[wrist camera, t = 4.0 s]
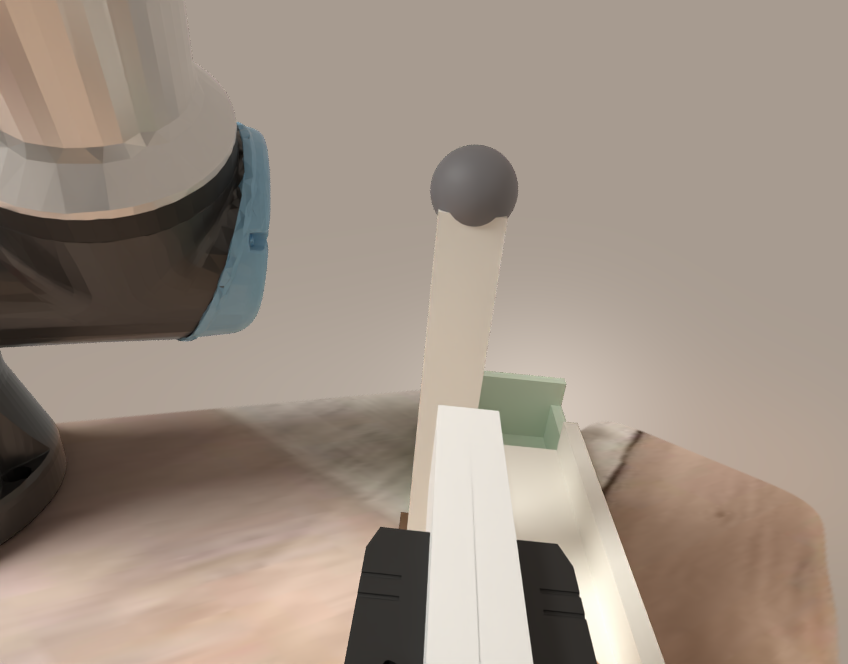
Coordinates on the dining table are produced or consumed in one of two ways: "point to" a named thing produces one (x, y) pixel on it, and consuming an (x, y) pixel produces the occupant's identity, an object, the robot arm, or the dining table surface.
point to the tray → (525, 407)
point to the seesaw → (526, 467)
